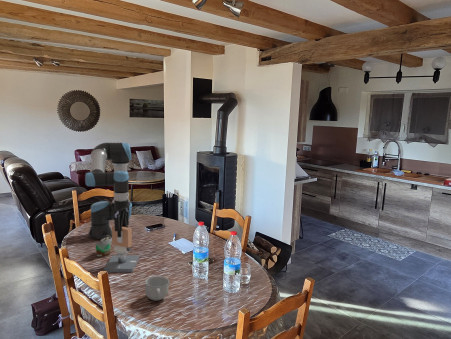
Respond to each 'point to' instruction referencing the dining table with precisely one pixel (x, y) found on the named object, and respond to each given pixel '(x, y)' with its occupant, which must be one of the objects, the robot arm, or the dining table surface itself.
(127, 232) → the brown box
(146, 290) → the teacup
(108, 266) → the post base
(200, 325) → the dining table surface
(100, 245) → the food container
